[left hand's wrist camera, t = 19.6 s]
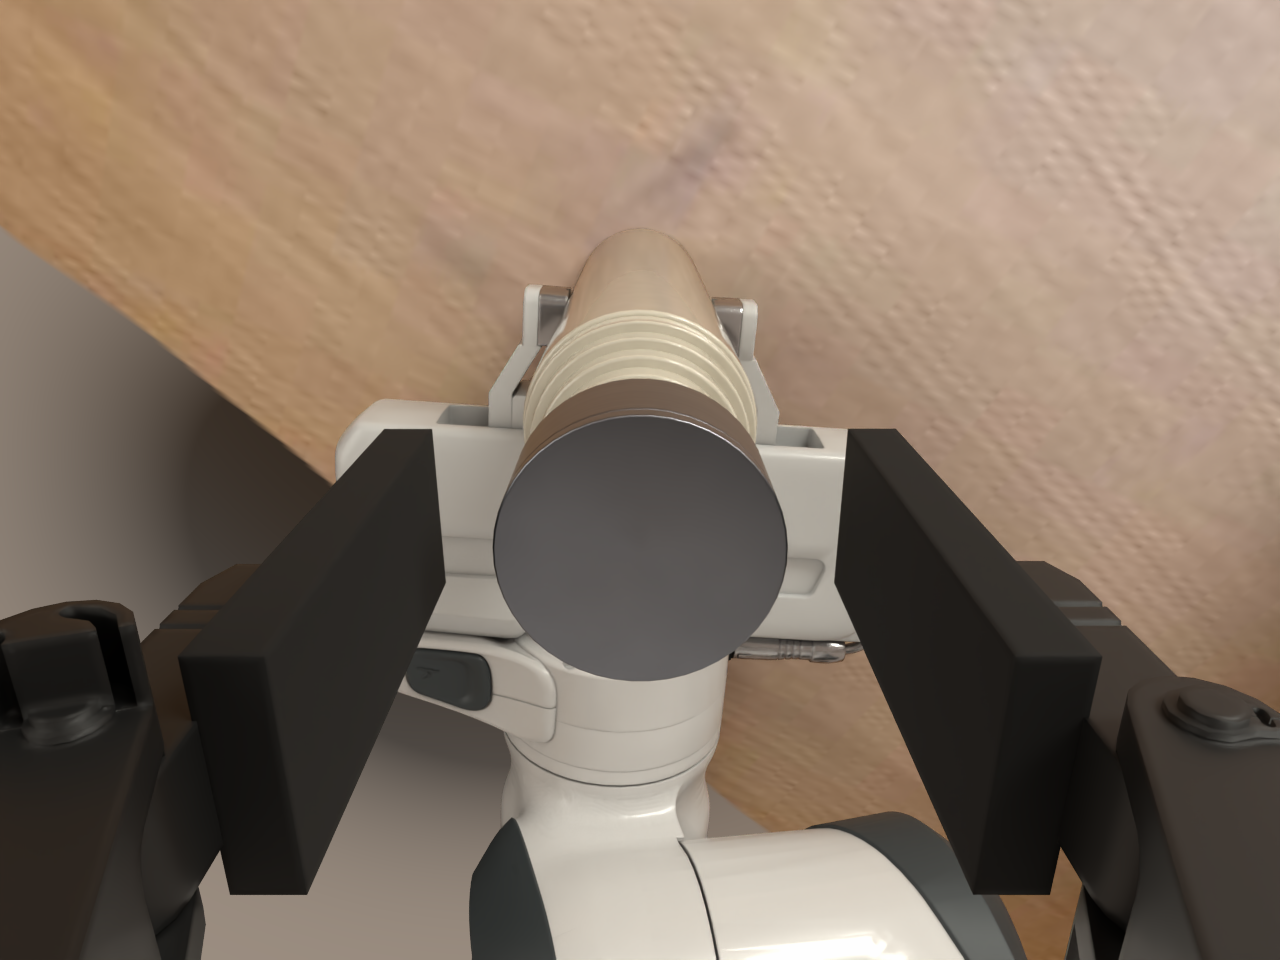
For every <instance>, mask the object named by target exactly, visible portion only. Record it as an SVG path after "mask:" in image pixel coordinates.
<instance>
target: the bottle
mask: <svg viewBox="0 0 1280 960" xmlns="http://www.w3.org/2000/svg"><path fill="white" fill-rule="evenodd" d="M625 379H655V380H663V381H669V382H672V383H676V384H680V385H684V386H686V387H689V388H691V389H694V390H696V391H699V392H701V393H702V394H704V395H706V396H708V397H710V398H711V399H713V400H715V401H716V402H718V403H719V404H720V405H721V406H723V407H724V408H725V409H727V410H728V411H729V412H730V413H731V414H732V415H733V416H734V417H735V418H736V419H737V420H738V421H739V422H740V423H741V424H742V425H743V427H744V428H745V429H746V431H747V432H748V433H749V435H750V436H751V438H752V440H753V441H754V443H755V445H756V434H757V409H756V404H755V398H754V394H753V391H752V388H751V385H750V382H749V379H748V377H747V375H746V373H745V371H744V369H743V366H742V364H741V362H740V360H739V358H738V356H737V354H736V352H735V349H734V347H733V345H732V343H731V341H730V339H729V337H728V335H727V332H726V330H725V328H724V326H723V324H722V322H721V320H720V318H719V315H718V313H717V311H716V309H715V307H714V305H713V303H712V301H711V299H710V296H709V294H708V292H707V290H706V288H705V286H704V284H703V282H702V279H701V277H700V275H699V273H698V271H697V269H696V267H695V265H694V263H693V261H692V259H691V257H690V256H689V254H688V253H687V251H686V250H685V249H684V248H683V247H682V246H681V245H680V244H679V243H678V242H677V241H676V240H674V239H672V238H671V237H669V236H667V235H665V234H663V233H661V232H658V231H655V230H650V229H630V230H625V231H622V232H619V233H616V234H614V235H612V236H610V237H609V238H607V239H606V240H604V241H603V242H602V243H601V244H600V245H599V246H598V247H596V248H595V250H594V251H593V252H592V254H591V255H590V257H589V258H588V260H587V262H586V264H585V266H584V268H583V270H582V272H581V275H580V277H579V279H578V281H577V283H576V285H575V287H574V290H573V292H572V294H571V296H570V298H569V300H568V302H567V304H566V307H565V309H564V311H563V313H562V315H561V317H560V319H559V322H558V324H557V326H556V328H555V330H554V332H553V334H552V336H551V339H550V341H549V343H548V345H547V347H546V349H545V351H544V354H543V356H542V358H541V360H540V362H539V364H538V366H537V369H536V371H535V373H534V375H533V378H532V380H531V382H530V385H529V387H528V391H527V395H526V398H525V404H524V411H523V433H524V444H526V442H527V440H528V438H529V436H530V435H531V434H532V432H533V431H534V430H535V428H536V427H537V426H538V424H539V423H540V422H541V421H542V420H543V419H544V418H545V417H546V416H547V415H548V414H549V413H550V412H551V411H552V410H554V409H555V408H556V407H558V406H559V405H560V404H561V403H563V402H564V401H566V400H567V399H569V398H571V397H573V396H574V395H576V394H578V393H580V392H582V391H584V390H587V389H589V388H592V387H594V386H597V385H600V384H604V383H608V382H612V381H618V380H625Z"/></svg>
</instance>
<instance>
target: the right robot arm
mask: <svg viewBox="0 0 1280 960" xmlns="http://www.w3.org/2000/svg"><path fill="white" fill-rule="evenodd" d="M570 296H571V287H559V286H548V285H534V284H529V285H528V286H527V287H526V288H525V293H524V301H523V338H522V340H521V341H520V343H519V345H518V346H517V348H516V350H515V351H514V353H513V354H512V356H511V358H510V359H509V361H508V362H507V364H506V366H505V367H504V369H503V371H502V372H501V374H500V375H499V377H498V379H497V380H496V382H495V383H494V385H493V387H492V388H491V390H490V391H489V405H475V404H459V403H444V402H428V401H412V400H398V399H381V400H378V401H376V402H374V403H373V404H371V405H370V406H369V407H368V408H367V409H365V410H364V411H363V412H362V413H361V414H360V415H358V416H357V417H356V418H355V419H354V420H353V422H352V423H351V424H350V425H349V426H348V427H347V429H346V430H345V431H344V432H343V434H342V435H341V437H340V439H339V441H338V444H337V447H336V452H335V471H336V481H337V480H338V479H339V478H340V477H341V476H342V475H343V474H344V473H345V472H346V470H347V469H348V468H349V467H350V466H351V465H352V464H353V463H354V462H355V461H356V459H357V458H358V457H359V456H360V455H361V454H362V453H363V452H364V451H365V450H366V448H367V447H368V446H369V445H370V444H371V443H372V442H373V441H374V440H375V439H376V437H377V436H378V435H379V434H380V433H381V432H382V431H383V430H384V429H432V432H433V443H434V454H435V466H436V477H437V488H438V499H439V510H440V521H441V532H442V544H443V555H444V566H445V577H446V584H445V586H444V588H443V591H442V593H441V595H440V597H439V600H438V602H437V604H436V606H435V609H434V611H433V613H432V615H431V618H430V620H429V622H428V624H427V627H426V629H425V631H424V633H423V636H422V638H421V640H420V642H419V645H418V647H417V649H416V651H415V654H414V656H413V658H412V660H411V663H410V665H409V667H408V669H407V671H406V674H405V676H404V678H403V680H402V683H401V685H400V687H399V689H398V692H400V693H403V694H406V695H409V696H412V697H415V698H418V699H421V700H424V701H427V702H431V703H434V704H436V705H439V706H443V707H445V708H448V709H451V710H454V711H457V712H460V713H462V714H465V715H467V716H470V717H472V718H475V719H478V720H480V721H482V722H485V723H487V724H489V725H492V726H494V727H496V728H498V729H501V730H503V732H504V737H505V740H506V743H507V746H508V749H509V751H510V755H511V767H510V770H509V772H508V775H507V777H506V781H505V784H504V787H503V792H502V799H501V829H500V830H499V832H498V833H497V834H496V836H495V837H494V839H493V840H492V842H491V843H490V845H489V847H488V849H487V850H486V852H485V854H484V855H483V857H482V859H481V861H480V862H479V864H478V866H477V868H476V869H475V871H474V873H473V875H472V881H471V888H470V901H469V924H470V940H471V951H472V960H1027V957H1026V955H1025V952H1024V949H1023V947H1022V944H1021V941H1020V939H1019V936H1018V934H1017V931H1016V929H1015V927H1014V924H1013V922H1012V920H1011V918H1010V915H1009V913H1008V911H1007V909H1006V907H1005V905H1004V904H1003V902H1002V900H1001V898H1000V896H999V895H973V894H972V891H971V889H970V887H969V885H968V882H967V880H966V878H965V876H964V873H963V871H962V869H961V867H960V864H959V862H958V860H957V858H956V856H955V853H954V851H953V849H952V847H951V844H950V842H949V841H947V840H946V839H945V838H944V837H942V836H941V835H939V834H938V833H937V832H935V831H934V830H932V829H931V828H929V827H928V826H927V825H925V824H924V823H922V822H921V821H919V820H917V819H916V818H914V817H912V816H909V815H907V814H904V813H899V812H884V813H878V814H873V815H868V816H862V817H857V818H852V819H846V820H841V821H835V822H830V823H825V824H819V825H814V826H811V827H808V828H806V829H804V830H794V831H783V832H771V833H760V834H749V835H737V836H726V837H715V838H707V834H708V827H709V818H710V801H709V794H708V789H707V785H706V781H705V772H706V769H707V766H708V764H709V763H710V761H711V759H712V757H713V755H714V752H715V750H716V747H717V744H718V740H719V735H720V728H721V721H722V712H723V704H724V696H725V688H726V679H727V671H728V660H731V658H740V659H757V660H777V659H778V660H782V659H802V660H809V661H810V662H814V663H837V662H842V661H843V660H844V658H845V654H851V653H856V652H859V651H861V650H863V647H862V645H861V642H860V640H859V638H858V636H857V633H856V631H855V629H854V627H853V624H852V622H851V620H850V618H849V615H848V613H847V611H846V609H845V606H844V604H843V602H842V600H841V597H840V595H839V593H838V591H837V588H836V586H835V584H834V577H835V566H836V555H837V544H838V532H839V521H840V510H841V499H842V488H843V477H844V466H845V454H846V443H847V432H848V429H841V428H826V427H811V426H796V425H780V424H778V419H779V410H778V408H777V406H776V403H775V401H774V399H773V397H772V394H771V392H770V390H769V388H768V385H767V383H766V381H765V379H764V376H763V374H762V372H761V370H760V367H759V365H758V363H757V361H756V359H755V357H754V355H753V354H754V345H755V336H756V328H757V319H758V306H757V304H756V302H755V301H754V300H752V299H738V298H719V297H712V298H711V301H712V303H713V305H714V307H715V309H716V311H717V313H718V315H719V318H720V320H721V322H722V324H723V326H724V328H725V330H726V332H727V335H728V337H729V339H730V341H731V343H732V345H733V347H734V349H735V352H736V354H737V356H738V358H739V360H740V362H741V364H742V366H743V369H744V371H745V373H746V375H747V377H748V379H749V382H750V385H751V388H752V391H753V394H754V398H755V404H756V409H757V434H756V447H757V448H758V450H759V453H760V455H761V458H762V460H763V463H764V466H765V468H766V471H767V473H768V476H769V478H770V481H771V483H772V486H773V488H774V491H775V494H776V496H777V499H778V501H779V504H780V506H781V509H782V511H783V516H784V520H785V524H786V529H787V541H788V554H787V566H786V570H785V575H784V580H783V583H782V586H781V589H780V591H779V594H778V597H777V599H776V601H775V603H774V605H773V607H772V608H771V610H770V612H769V614H768V615H767V617H766V618H765V619H764V621H763V622H762V624H761V625H760V626H759V628H758V629H757V630H756V631H755V632H754V633H753V634H752V635H751V636H750V637H749V639H748V640H747V641H745V642H744V643H743V644H742V645H741V646H739V647H738V648H737V649H736V650H735V651H733V652H732V653H730V654H729V655H727V656H726V657H724V658H723V659H721V660H720V661H718V662H716V663H714V664H712V665H710V666H708V667H706V668H704V669H701V670H699V671H696V672H693V673H690V674H687V675H684V676H680V677H675V678H671V679H666V680H657V681H623V680H614V679H609V678H605V677H601V676H596V675H593V674H590V673H587V672H585V671H582V670H579V669H577V668H575V667H573V666H571V665H568V664H566V663H564V662H562V661H561V660H559V659H558V658H556V657H555V656H553V655H551V654H550V653H548V652H547V651H546V650H545V649H543V648H542V647H541V646H540V645H539V644H537V643H536V642H535V641H534V640H533V639H532V638H531V637H530V636H529V635H528V634H527V633H526V632H525V631H524V630H523V628H522V627H521V626H520V624H519V623H518V622H517V620H516V619H515V617H514V616H513V615H512V613H511V611H510V610H509V608H508V606H507V604H506V602H505V600H504V598H503V596H502V593H501V590H500V588H499V585H498V582H497V578H496V573H495V569H494V563H493V548H492V546H493V533H494V526H495V522H496V518H497V513H498V510H499V508H500V505H501V502H502V500H503V497H504V495H505V492H506V489H507V487H508V484H509V482H510V479H511V477H512V474H513V471H514V469H515V466H516V464H517V461H518V459H519V456H520V454H521V451H522V449H523V447H524V445H525V444H524V433H523V411H524V404H525V398H526V395H527V391H528V387H529V385H530V382H531V381H530V380H523V381H522V382H520V380H521V379H522V377H523V376H524V374H525V372H526V371H527V369H528V368H529V366H530V364H531V363H532V361H533V360H534V358H535V356H536V355H537V353H538V352H539V350H540V348H541V347H542V346H547V345H548V343H549V341H550V339H551V336H552V334H553V332H554V330H555V328H556V326H557V324H558V322H559V319H560V317H561V315H562V313H563V311H564V309H565V307H566V304H567V302H568V300H569V298H570ZM845 641H848V642H852V643H848V644H845Z"/></svg>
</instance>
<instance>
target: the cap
mask: <svg viewBox="0 0 1280 960" xmlns="http://www.w3.org/2000/svg"><path fill="white" fill-rule="evenodd" d="M492 548H493V563H494V569H495V573H496V578H497V582H498V585H499V588H500V590H501V593H502V596H503V598H504V600H505V602H506V604H507V606H508V608H509V610H510V611H511V613H512V615H513V616H514V617H515V619H516V620H517V622H518V623H519V624H520V626H521V627H522V628H523V630H524V631H525V632H526V633H527V634H528V635H529V636H530V637H531V638H532V639H533V640H534V641H535V642H536V643H537V644H539V645H540V646H541V647H542V648H543V649H545V650H546V651H547V652H548V653H550V654H551V655H553V656H555V657H556V658H558V659H559V660H561V661H562V662H564V663H566V664H568V665H571V666H573V667H575V668H577V669H579V670H582V671H585V672H587V673H590V674H593V675H596V676H601V677H605V678H609V679H614V680H623V681H657V680H666V679H671V678H675V677H680V676H684V675H687V674H690V673H693V672H696V671H699V670H701V669H704V668H706V667H708V666H710V665H712V664H714V663H716V662H718V661H720V660H721V659H723V658H724V657H726V656H727V655H729V654H730V653H732V652H733V651H735V650H736V649H737V648H738V647H739V646H741V645H742V644H743V643H744V642H745V641H747V640H748V639H749V637H750V636H751V635H752V634H753V633H754V632H755V631H756V630H757V629H758V628H759V626H760V625H761V624H762V622H763V621H764V619H765V618H766V617H767V615H768V614H769V612H770V610H771V608H772V607H773V605H774V603H775V601H776V599H777V597H778V594H779V591H780V589H781V586H782V583H783V580H784V575H785V570H786V566H787V554H788V541H787V529H786V524H785V520H784V516H783V511H782V509H781V506H780V504H779V501H778V499H777V496H776V494H775V491H774V488H773V486H772V483H771V481H770V478H769V476H768V473H767V471H766V468H765V466H764V463H763V460H762V458H761V455H760V453H759V450H758V448H757V447H756V445H755V443H754V441H753V440H752V438H751V436H750V435H749V433H748V432H747V431H746V429H745V428H744V427H743V425H742V424H741V423H740V422H739V421H738V420H737V419H736V418H735V417H734V416H733V415H732V414H731V413H730V412H729V411H728V410H727V409H725V408H724V407H723V406H721V405H720V404H719V403H718V402H716V401H715V400H713V399H711V398H710V397H708V396H706V395H704V394H702V393H701V392H699V391H696V390H694V389H691V388H689V387H686V386H684V385H680V384H676V383H672V382H669V381H663V380H655V379H625V380H618V381H612V382H608V383H604V384H600V385H597V386H594V387H592V388H589V389H587V390H584V391H582V392H580V393H578V394H576V395H574V396H573V397H571V398H569V399H567V400H566V401H564V402H563V403H561V404H560V405H559V406H558V407H556V408H555V409H554V410H552V411H551V412H550V413H549V414H548V415H547V416H546V417H545V418H544V419H543V420H542V421H541V422H540V423H539V424H538V426H537V427H536V428H535V430H534V431H533V432H532V434H531V435H530V436H529V438H528V440H527V442H526V444H525V445H524V447H523V449H522V451H521V454H520V456H519V459H518V461H517V464H516V466H515V469H514V471H513V474H512V477H511V479H510V482H509V484H508V487H507V489H506V492H505V495H504V497H503V500H502V502H501V505H500V508H499V510H498V513H497V518H496V522H495V526H494V533H493V546H492Z"/></svg>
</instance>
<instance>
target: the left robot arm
mask: <svg viewBox="0 0 1280 960" xmlns="http://www.w3.org/2000/svg"><path fill="white" fill-rule="evenodd" d="M445 584H446V577H445V566H444V555H443V544H442V532H441V521H440V510H439V499H438V488H437V477H436V466H435V454H434V443H433V432H432V429H384V430H383V431H382V432H381V433H380V434H379V435H378V436H377V437H376V439H375V440H374V441H373V442H372V443H371V444H370V445H369V446H368V447H367V448H366V450H365V451H364V452H363V453H362V454H361V455H360V456H359V457H358V458H357V459H356V461H355V462H354V463H353V464H352V465H351V466H350V467H349V468H348V469H347V470H346V472H345V473H344V474H343V475H342V476H341V477H340V478H339V479H338V480H337V481H336V483H335V484H334V485H333V486H332V487H331V488H330V489H329V490H328V491H327V492H326V494H325V495H324V496H323V497H322V498H321V499H320V500H319V501H318V502H317V503H316V505H315V506H314V507H313V508H312V509H311V510H310V511H309V512H308V513H307V514H306V516H305V517H304V518H303V519H302V520H301V521H300V522H299V523H298V524H297V525H296V527H295V528H294V529H293V530H292V531H291V532H290V533H289V534H288V535H287V536H286V538H285V539H284V540H283V541H282V542H281V543H280V544H279V545H278V546H277V547H276V549H275V550H274V551H273V552H272V553H271V554H270V555H269V556H268V557H267V558H266V560H265V561H264V562H263V563H262V564H236V565H234V566H232V567H230V568H228V569H227V570H225V571H223V572H221V573H219V574H217V575H215V576H214V577H212V578H210V579H208V580H206V581H204V582H202V583H201V584H200V585H199V586H198V587H197V588H196V589H195V590H194V591H193V592H192V593H191V594H190V595H189V596H188V597H187V598H186V599H185V600H184V601H183V602H182V603H181V604H180V605H179V609H178V610H174V611H173V612H172V613H171V614H170V615H169V616H168V617H167V618H166V619H164V620H163V621H162V622H161V623H160V628H159V629H154V630H153V631H152V632H151V633H150V634H149V635H148V636H147V637H146V638H145V639H144V640H143V641H142V642H141V643H140V639H139V635H138V631H137V627H136V622H135V618H134V614H133V612H132V611H131V610H129V609H128V608H126V607H125V606H123V605H121V604H120V603H114V602H107V601H100V600H87V601H71V602H63V603H58V604H53V605H49V606H44V607H39V608H34V609H31V610H28V611H25V612H22V613H20V614H17V615H14V616H11V617H8V618H5V619H2V620H0V960H201V953H202V946H203V939H204V932H205V925H206V924H205V917H204V910H203V904H202V900H201V896H200V892H199V888H198V886H199V884H200V883H201V881H202V879H203V878H204V876H205V874H206V872H207V871H208V869H209V868H210V866H211V864H212V863H213V861H214V859H215V857H216V856H217V854H218V853H219V851H221V856H222V860H223V865H224V869H225V874H226V878H227V883H228V887H229V892H230V895H307V894H308V891H309V889H310V887H311V885H312V882H313V880H314V878H315V876H316V873H317V871H318V869H319V867H320V864H321V862H322V860H323V858H324V856H325V853H326V851H327V849H328V847H329V844H330V842H331V840H332V837H333V835H334V833H335V831H336V828H337V826H338V824H339V822H340V820H341V817H342V815H343V813H344V811H345V808H346V806H347V804H348V802H349V799H350V797H351V795H352V793H353V790H354V788H355V786H356V784H357V781H358V779H359V777H360V775H361V772H362V770H363V768H364V766H365V763H366V761H367V759H368V757H369V755H370V752H371V750H372V748H373V746H374V743H375V741H376V739H377V736H378V734H379V732H380V730H381V728H382V725H383V723H384V721H385V719H386V716H387V714H388V712H389V710H390V707H391V705H392V703H393V701H394V698H395V696H396V694H397V692H398V689H399V687H400V685H401V683H402V680H403V678H404V676H405V674H406V671H407V669H408V667H409V665H410V663H411V660H412V658H413V656H414V654H415V651H416V649H417V647H418V645H419V642H420V640H421V638H422V636H423V633H424V631H425V629H426V627H427V624H428V622H429V620H430V618H431V615H432V613H433V611H434V609H435V606H436V604H437V602H438V600H439V597H440V595H441V593H442V591H443V588H444V586H445ZM834 584H835V586H836V588H837V591H838V593H839V595H840V597H841V600H842V602H843V604H844V606H845V609H846V611H847V613H848V615H849V618H850V620H851V622H852V624H853V627H854V629H855V631H856V633H857V636H858V638H859V640H860V642H861V645H862V647H863V649H864V651H865V654H866V656H867V658H868V660H869V663H870V665H871V667H872V669H873V671H874V674H875V676H876V678H877V680H878V683H879V685H880V687H881V689H882V692H883V694H884V696H885V698H886V701H887V703H888V705H889V707H890V710H891V712H892V714H893V716H894V719H895V721H896V723H897V725H898V728H899V730H900V732H901V734H902V737H903V739H904V741H905V743H906V746H907V748H908V750H909V752H910V755H911V757H912V759H913V761H914V763H915V766H916V768H917V770H918V772H919V775H920V777H921V779H922V781H923V784H924V786H925V788H926V790H927V793H928V795H929V797H930V799H931V802H932V804H933V806H934V808H935V811H936V813H937V815H938V817H939V820H940V822H941V824H942V826H943V829H944V831H945V833H946V835H947V838H948V840H949V842H950V844H951V847H952V849H953V851H954V853H955V856H956V858H957V860H958V862H959V864H960V867H961V869H962V871H963V873H964V876H965V878H966V880H967V882H968V885H969V887H970V889H971V891H972V894H973V895H1050V892H1051V887H1052V883H1053V878H1054V874H1055V869H1056V865H1057V860H1058V856H1059V851H1060V847H1061V848H1062V850H1063V851H1064V853H1065V855H1066V856H1067V858H1068V860H1069V861H1070V863H1071V865H1072V866H1073V868H1074V870H1075V871H1076V873H1077V875H1078V876H1079V878H1080V880H1081V881H1082V887H1081V892H1080V896H1079V900H1078V904H1077V908H1076V913H1075V917H1074V921H1073V925H1072V929H1071V934H1070V938H1069V942H1068V946H1067V950H1066V955H1065V959H1064V960H1280V714H1279V713H1278V712H1276V711H1275V710H1273V709H1272V708H1270V707H1269V706H1267V705H1265V704H1264V703H1262V702H1261V701H1259V700H1258V699H1256V698H1253V697H1251V696H1248V695H1246V694H1244V693H1241V692H1239V691H1237V690H1234V689H1232V688H1229V687H1227V686H1224V685H1220V684H1216V683H1212V682H1208V681H1204V680H1200V679H1196V678H1187V677H1177V676H1176V675H1175V674H1174V673H1173V672H1172V671H1171V670H1170V669H1169V668H1168V667H1167V666H1166V665H1165V664H1164V663H1163V662H1162V661H1161V660H1160V659H1159V658H1158V657H1157V656H1156V655H1155V654H1154V653H1153V652H1152V651H1151V650H1150V649H1149V648H1148V647H1147V646H1146V645H1145V644H1144V643H1143V642H1142V641H1141V640H1140V639H1139V638H1138V637H1137V636H1136V635H1135V634H1134V633H1133V632H1132V631H1131V630H1130V629H1129V628H1128V627H1127V626H1121V620H1120V619H1119V618H1117V617H1116V616H1115V615H1114V614H1113V613H1112V612H1111V611H1110V610H1109V609H1108V608H1107V607H1102V602H1101V601H1100V600H1099V599H1098V598H1097V597H1096V596H1095V595H1094V594H1093V593H1092V592H1091V591H1090V590H1089V589H1088V588H1087V587H1086V586H1085V585H1084V584H1083V583H1082V582H1081V581H1080V580H1078V579H1076V578H1075V577H1073V576H1071V575H1069V574H1067V573H1065V572H1063V571H1061V570H1060V569H1058V568H1056V567H1054V566H1052V565H1050V564H1048V563H1046V562H1045V561H1015V560H1014V558H1013V557H1012V556H1011V555H1010V554H1009V553H1008V552H1007V551H1006V550H1005V549H1004V547H1003V546H1002V545H1001V544H1000V543H999V542H998V541H997V540H996V539H995V538H994V536H993V535H992V534H991V533H990V532H989V531H988V530H987V529H986V528H985V527H984V525H983V524H982V523H981V522H980V521H979V520H978V519H977V518H976V517H975V516H974V514H973V513H972V512H971V511H970V510H969V509H968V508H967V507H966V506H965V505H964V503H963V502H962V501H961V500H960V499H959V498H958V497H957V496H956V495H955V494H954V492H953V491H952V490H951V489H950V488H949V487H948V486H947V485H946V484H945V483H944V481H943V480H942V479H941V478H940V477H939V476H938V475H937V474H936V473H935V472H934V470H933V469H932V468H931V467H930V466H929V465H928V464H927V463H926V462H925V461H924V459H923V458H922V457H921V456H920V455H919V454H918V453H917V452H916V451H915V450H914V448H913V447H912V446H911V445H910V444H909V443H908V442H907V441H906V440H905V439H904V437H903V436H902V435H901V434H900V433H899V432H898V431H897V430H896V429H848V432H847V443H846V454H845V466H844V477H843V488H842V499H841V510H840V521H839V532H838V544H837V555H836V566H835V577H834Z"/></svg>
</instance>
